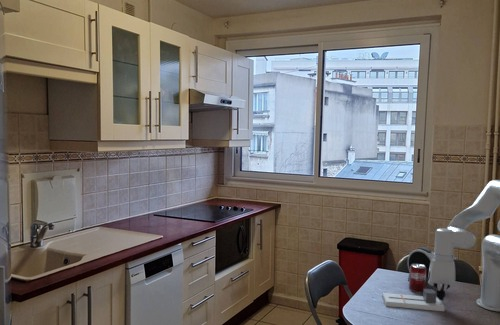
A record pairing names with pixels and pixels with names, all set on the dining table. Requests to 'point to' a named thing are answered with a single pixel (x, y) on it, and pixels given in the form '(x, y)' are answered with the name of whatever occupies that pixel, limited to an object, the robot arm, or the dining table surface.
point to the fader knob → (429, 295)
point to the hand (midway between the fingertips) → (440, 298)
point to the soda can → (417, 278)
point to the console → (411, 302)
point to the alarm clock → (421, 261)
